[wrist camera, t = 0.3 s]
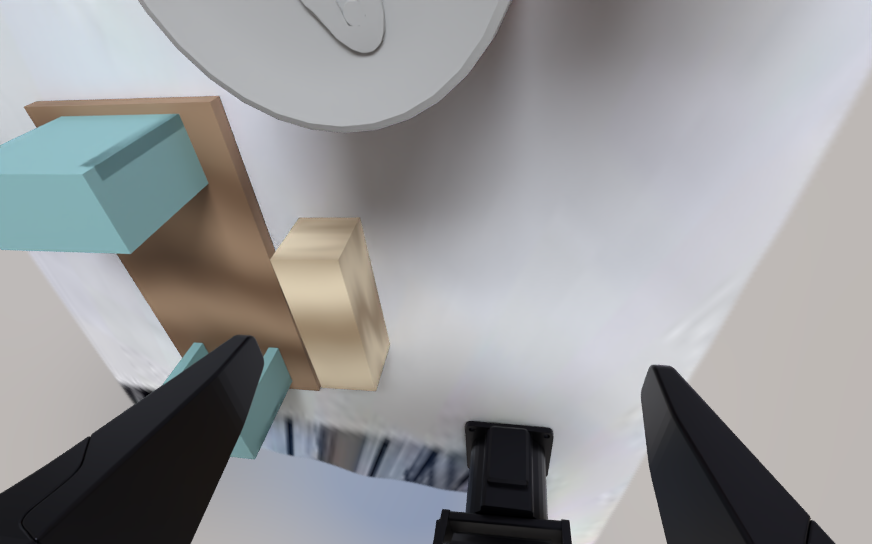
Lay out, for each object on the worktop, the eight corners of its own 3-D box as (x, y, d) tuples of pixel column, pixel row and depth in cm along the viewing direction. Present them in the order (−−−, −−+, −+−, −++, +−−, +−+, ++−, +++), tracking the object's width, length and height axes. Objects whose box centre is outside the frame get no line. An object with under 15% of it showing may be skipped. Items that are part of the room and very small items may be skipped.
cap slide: (292, 381, 34) (252, 463, 29) (212, 375, 35) (161, 453, 30) (278, 348, 31) (232, 431, 26) (193, 342, 32) (134, 422, 27)
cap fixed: (208, 183, 24) (130, 254, 19) (100, 182, 25) (1, 249, 20) (179, 113, 21) (82, 174, 17) (61, 116, 22) (-62, 174, 18)
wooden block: (390, 342, 31) (375, 391, 28) (341, 340, 31) (321, 387, 28) (361, 215, 25) (337, 260, 22) (300, 215, 25) (269, 259, 22)
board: (322, 382, 34) (318, 390, 34) (202, 372, 36) (197, 381, 35) (219, 96, 21) (210, 102, 21) (36, 101, 23) (23, 106, 22)
